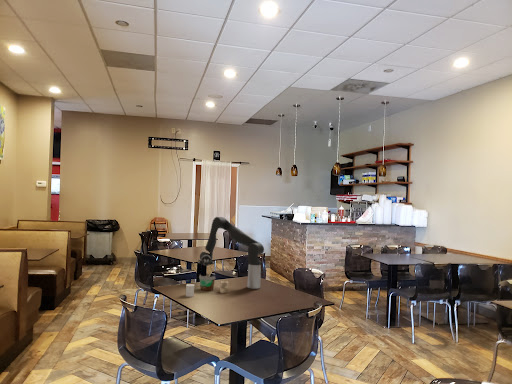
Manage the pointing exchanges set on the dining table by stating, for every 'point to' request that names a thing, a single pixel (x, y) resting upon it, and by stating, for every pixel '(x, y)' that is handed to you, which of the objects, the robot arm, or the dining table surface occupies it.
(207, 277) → the food container
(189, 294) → the grey block
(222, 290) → the birch block
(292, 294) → the dining table surface
